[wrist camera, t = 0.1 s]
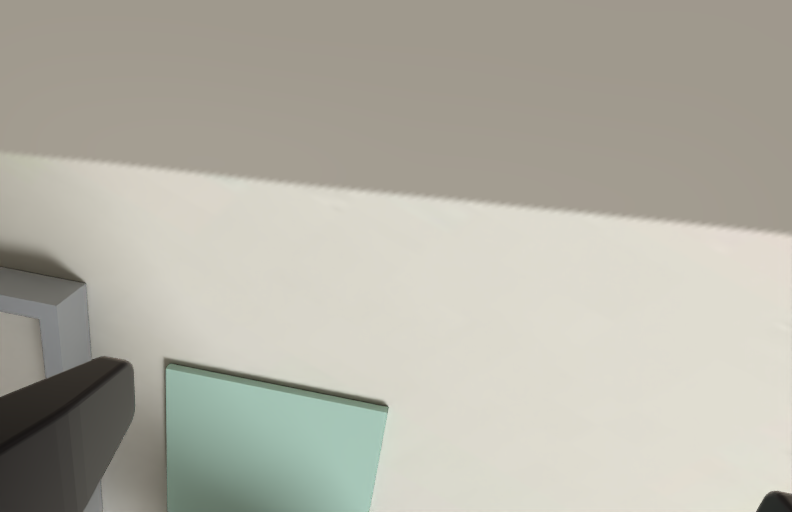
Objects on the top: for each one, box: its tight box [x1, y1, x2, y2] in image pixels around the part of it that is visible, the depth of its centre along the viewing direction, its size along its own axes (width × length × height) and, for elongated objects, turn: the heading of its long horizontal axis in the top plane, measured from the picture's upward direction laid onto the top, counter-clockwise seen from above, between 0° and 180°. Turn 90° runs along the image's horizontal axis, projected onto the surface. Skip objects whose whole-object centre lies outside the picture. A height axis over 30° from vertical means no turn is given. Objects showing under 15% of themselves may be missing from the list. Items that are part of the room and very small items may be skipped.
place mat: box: [166, 364, 389, 512], centre depth 29 cm, size 12×10×1 cm
